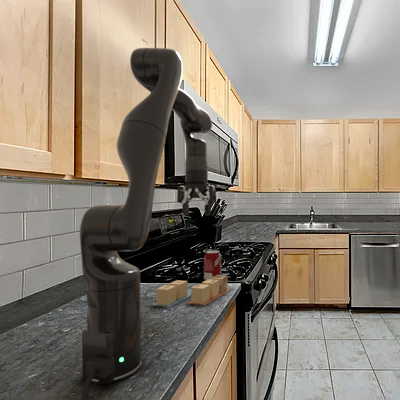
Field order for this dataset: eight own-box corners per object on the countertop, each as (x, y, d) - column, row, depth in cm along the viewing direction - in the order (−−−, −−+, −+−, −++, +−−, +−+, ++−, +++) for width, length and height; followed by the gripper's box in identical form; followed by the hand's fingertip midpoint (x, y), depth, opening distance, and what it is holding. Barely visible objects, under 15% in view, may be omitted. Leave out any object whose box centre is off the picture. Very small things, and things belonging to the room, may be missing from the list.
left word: (168, 307, 96) (168, 290, 96) (151, 305, 98) (151, 289, 98) (201, 290, 113) (201, 276, 113) (186, 289, 115) (186, 274, 115)
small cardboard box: (221, 292, 110) (221, 278, 110) (211, 291, 111) (211, 277, 111) (227, 289, 114) (227, 275, 114) (217, 288, 115) (217, 274, 115)
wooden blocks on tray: (204, 305, 98) (204, 289, 98) (187, 303, 99) (187, 287, 99) (230, 289, 114) (230, 275, 114) (215, 288, 116) (215, 274, 116)
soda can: (211, 283, 122) (210, 253, 122) (200, 280, 126) (200, 251, 126) (224, 279, 127) (224, 251, 127) (214, 277, 131) (214, 249, 131)
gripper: (172, 169, 107) (172, 215, 107) (208, 168, 103) (208, 216, 103) (185, 170, 114) (185, 214, 114) (220, 169, 110) (220, 214, 111)
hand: (196, 215), depth 109 cm, fingers open, 8 cm apart
